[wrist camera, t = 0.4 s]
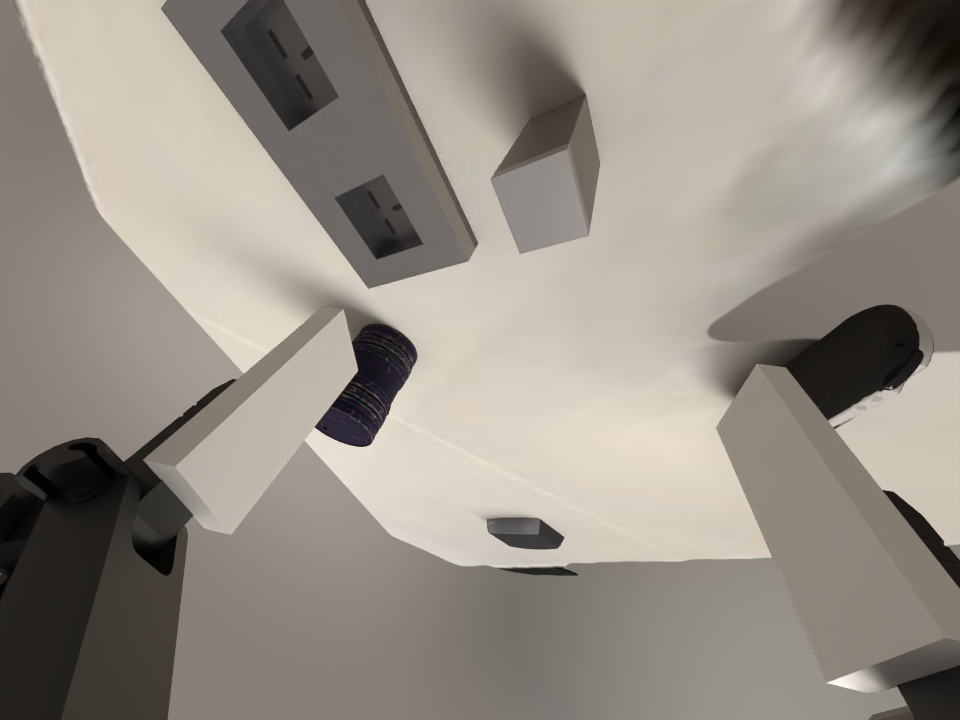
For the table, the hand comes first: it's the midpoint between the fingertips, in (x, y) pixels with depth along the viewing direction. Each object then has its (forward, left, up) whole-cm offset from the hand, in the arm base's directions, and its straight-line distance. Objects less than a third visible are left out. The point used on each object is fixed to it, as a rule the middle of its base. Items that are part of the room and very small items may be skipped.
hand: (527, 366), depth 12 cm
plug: (+2, 0, -25) cm, 25 cm away
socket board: (+20, -7, -25) cm, 33 cm away
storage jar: (+35, +18, -25) cm, 46 cm away
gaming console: (-15, +28, -25) cm, 41 cm away
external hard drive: (+38, +90, -26) cm, 101 cm away
